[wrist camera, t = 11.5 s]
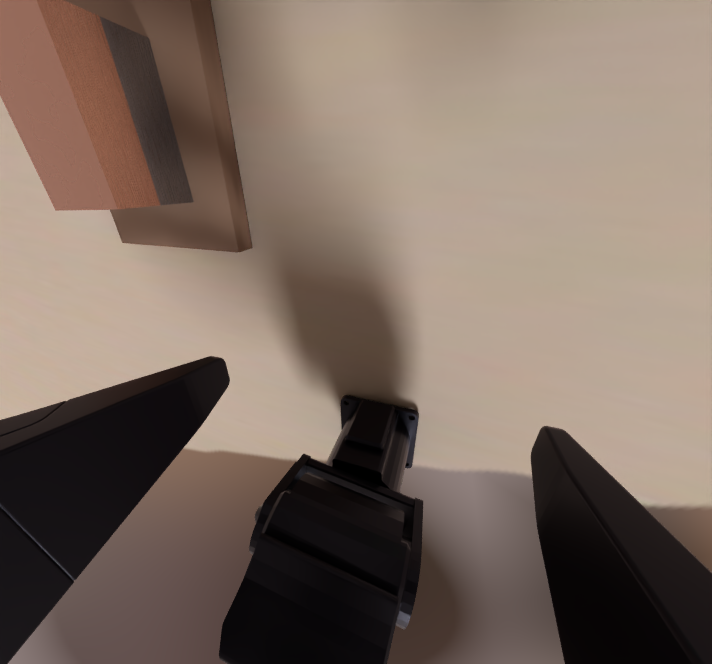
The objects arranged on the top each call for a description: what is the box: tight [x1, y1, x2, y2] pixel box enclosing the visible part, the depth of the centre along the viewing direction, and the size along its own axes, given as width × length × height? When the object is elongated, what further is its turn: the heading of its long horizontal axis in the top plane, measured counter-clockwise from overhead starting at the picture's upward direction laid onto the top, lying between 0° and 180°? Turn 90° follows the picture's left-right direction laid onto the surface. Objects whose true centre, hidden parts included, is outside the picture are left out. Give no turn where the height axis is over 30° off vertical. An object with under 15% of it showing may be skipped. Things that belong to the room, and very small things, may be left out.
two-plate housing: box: [0, 0, 194, 210], centre depth 16 cm, size 5×8×5 cm, turn 3°
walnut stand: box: [64, 0, 252, 252], centre depth 19 cm, size 14×11×2 cm
